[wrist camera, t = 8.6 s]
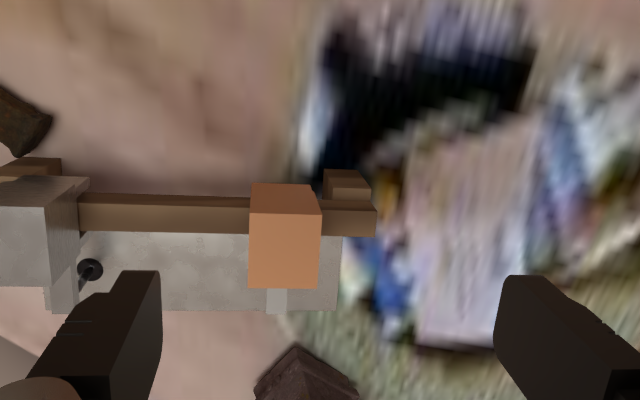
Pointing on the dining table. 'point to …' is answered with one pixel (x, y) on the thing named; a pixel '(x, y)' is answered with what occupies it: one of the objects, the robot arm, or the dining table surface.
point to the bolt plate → (199, 270)
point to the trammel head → (283, 241)
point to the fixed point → (43, 236)
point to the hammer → (304, 381)
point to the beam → (205, 206)
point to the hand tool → (20, 125)
